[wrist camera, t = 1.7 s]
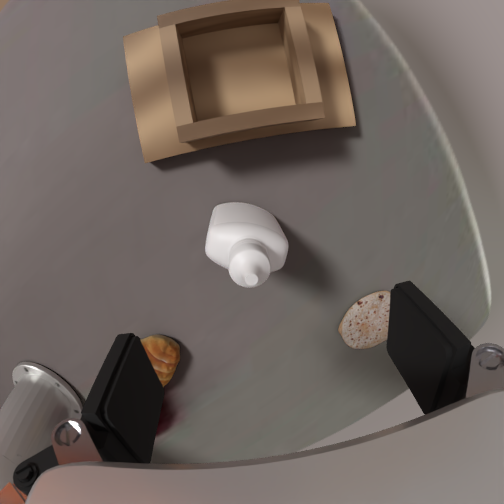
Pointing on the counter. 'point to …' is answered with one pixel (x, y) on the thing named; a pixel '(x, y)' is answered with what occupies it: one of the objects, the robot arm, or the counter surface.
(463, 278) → the counter surface
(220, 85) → the holder stand
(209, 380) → the counter surface
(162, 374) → the pastry
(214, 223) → the eye dropper bottle
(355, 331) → the flatbread
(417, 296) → the robot arm
